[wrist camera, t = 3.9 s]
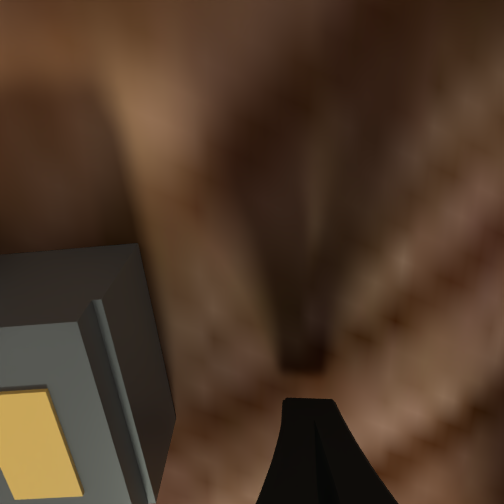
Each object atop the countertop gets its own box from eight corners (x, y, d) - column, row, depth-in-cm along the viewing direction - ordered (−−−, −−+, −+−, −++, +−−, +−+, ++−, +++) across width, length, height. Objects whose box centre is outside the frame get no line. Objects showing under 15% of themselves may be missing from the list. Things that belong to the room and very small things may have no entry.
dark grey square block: (140, 239, 12) (85, 324, 8) (177, 412, 15) (147, 537, 11) (-108, 260, 13) (-266, 350, 9) (-32, 424, 15) (-131, 550, 11)
